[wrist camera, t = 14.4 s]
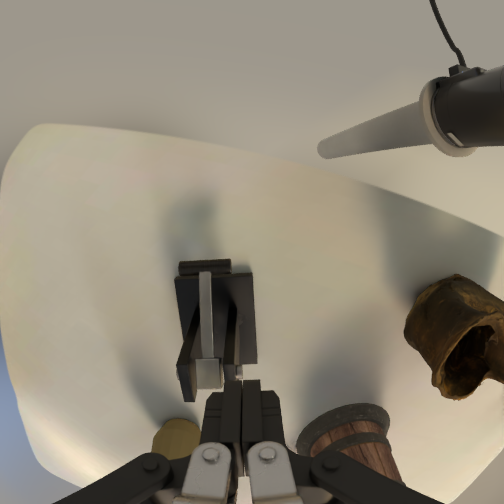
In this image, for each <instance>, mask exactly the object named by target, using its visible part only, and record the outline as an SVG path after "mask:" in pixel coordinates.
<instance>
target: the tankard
mask: <svg viewBox="0 0 504 504" xmlns="http://www.w3.org/2000/svg"><path fill="white" fill-rule="evenodd" d="M389 426H390V418H389V415H388V413H387V412H386V410H384V409H383V408H382V407H379V406H377V405H374V404H367V403H365V404H352V405H347V406H343V407H340V408H337V409H334V410H332V411H329V412H327V413H325V414H323V415H321V416H320V417H318V418H317V419H315V420H314V421H312V422H311V423H310V424H309V425H308V426H307V427H306V428H305V429H304V430H303V431H302V433H301V434H300V435H299V438H298V440H297V445H296V448H297V452H298V454H299V455H302V456H309V457H314V456H316V455H317V454H318V453H320V452H323V451H327V450H336V451H340V452H342V453H344V454H346V455H348V456H350V457H351V458H353V459H355V460H357V461H358V462H360V463H362V464H364V465H365V466H367V467H369V468H371V469H373V470H375V471H377V472H378V473H380V474H382V475H384V476H386V477H388V478H390V479H392V480H394V481H396V482H398V483H400V484H402V485H404V486H406V484H405V483H404V482H403V481H402V479H401V476H400V474H399V471H398V468H397V466H396V463H395V461H394V458H393V456H392V454H391V451H392V450H391V446H390V444H389V441H388V439H387V438H386V435H387V432H388V429H389Z"/></svg>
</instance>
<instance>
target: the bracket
mask: <svg viewBox="0 0 504 504" xmlns="http://www.w3.org/2000/svg"><path fill="white" fill-rule="evenodd" d="M174 281H175V288H176V295H177V302H178V309H179V315H180V321H181V327H182V333H183V339H184V343H183V346H182V349H181V352H180V355H179V358H178V361H177V364H176V367H177V378H178V380H179V381H180V385H181V389H182V394H183V398H184V402H195V398H196V393H197V385H196V370H195V359H198V358H202V345H201V323H200V294H199V275H198V276H177V277H176V278H175V280H174ZM212 297H213V321H214V342H215V357H222V365H223V372H224V380H225V381H236V380H239V379H243V370H242V365H243V364H257V345H256V328H255V310H254V292H253V275H252V273H236V274H217V275H212Z"/></svg>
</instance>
